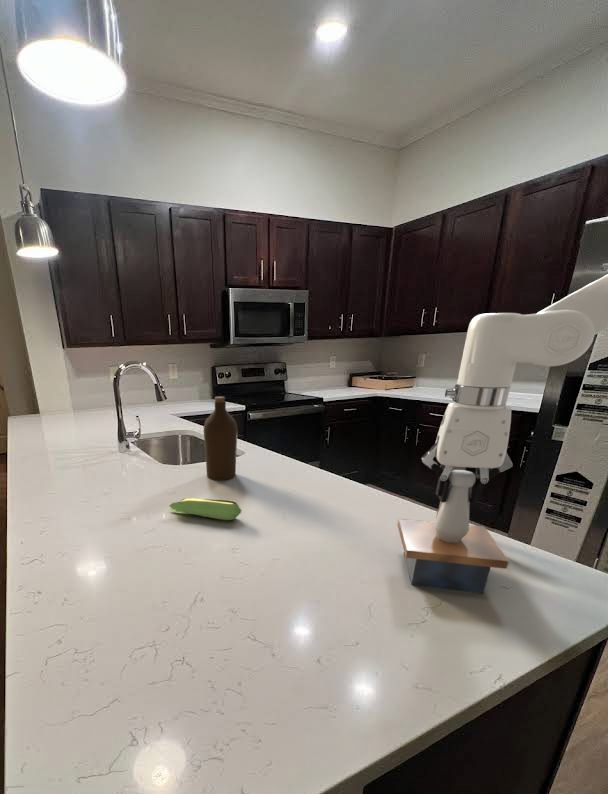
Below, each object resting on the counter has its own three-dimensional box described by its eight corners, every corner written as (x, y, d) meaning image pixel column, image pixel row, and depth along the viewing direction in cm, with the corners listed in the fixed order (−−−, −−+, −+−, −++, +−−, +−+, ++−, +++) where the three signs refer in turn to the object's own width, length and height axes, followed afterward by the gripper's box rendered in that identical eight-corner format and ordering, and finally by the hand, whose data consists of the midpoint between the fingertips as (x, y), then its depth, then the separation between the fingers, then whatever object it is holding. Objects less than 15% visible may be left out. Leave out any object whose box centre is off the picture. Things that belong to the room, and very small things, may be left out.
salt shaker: (452, 529, 81) (467, 465, 76) (473, 543, 76) (490, 475, 71) (425, 532, 81) (437, 467, 75) (444, 546, 75) (459, 478, 70)
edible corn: (238, 524, 102) (238, 507, 100) (164, 514, 108) (163, 498, 106) (244, 516, 107) (244, 500, 105) (173, 507, 113) (171, 491, 111)
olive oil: (212, 482, 130) (210, 400, 120) (200, 473, 139) (197, 396, 129) (243, 477, 134) (243, 398, 124) (229, 468, 143) (228, 393, 133)
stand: (475, 559, 86) (484, 526, 83) (497, 598, 73) (508, 561, 70) (392, 550, 90) (398, 518, 87) (400, 586, 77) (407, 550, 74)
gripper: (428, 399, 67) (409, 504, 74) (549, 402, 63) (517, 513, 70) (420, 392, 73) (404, 490, 81) (530, 394, 69) (502, 497, 77)
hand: (456, 499), depth 75 cm, fingers closed on salt shaker, 4 cm apart
